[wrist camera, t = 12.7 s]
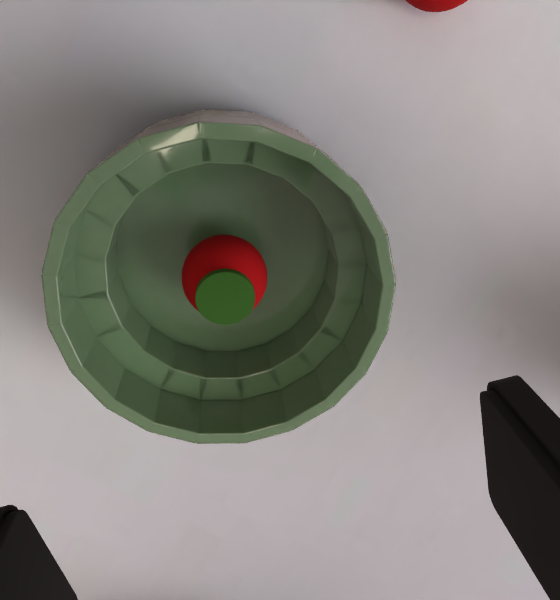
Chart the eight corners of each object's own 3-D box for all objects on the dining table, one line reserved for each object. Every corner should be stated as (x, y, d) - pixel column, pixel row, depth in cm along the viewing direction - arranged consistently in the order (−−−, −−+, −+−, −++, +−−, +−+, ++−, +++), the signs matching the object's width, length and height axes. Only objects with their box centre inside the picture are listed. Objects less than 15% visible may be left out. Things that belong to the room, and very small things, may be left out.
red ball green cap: (198, 304, 28) (195, 348, 24) (172, 234, 26) (165, 271, 22) (272, 284, 28) (280, 325, 24) (252, 213, 26) (258, 246, 22)
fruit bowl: (140, 402, 30) (121, 476, 25) (30, 155, 24) (-25, 182, 19) (381, 337, 30) (416, 397, 25) (330, 72, 24) (360, 76, 19)
